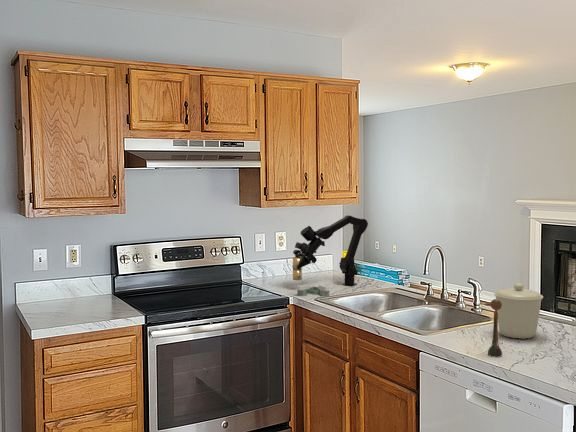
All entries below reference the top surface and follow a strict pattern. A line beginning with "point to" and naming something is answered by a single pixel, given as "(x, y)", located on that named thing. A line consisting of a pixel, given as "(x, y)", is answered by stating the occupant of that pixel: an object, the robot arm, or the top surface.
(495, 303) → the wooden tabletop sculpture
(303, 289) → the shaft bench
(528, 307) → the canister
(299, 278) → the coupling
